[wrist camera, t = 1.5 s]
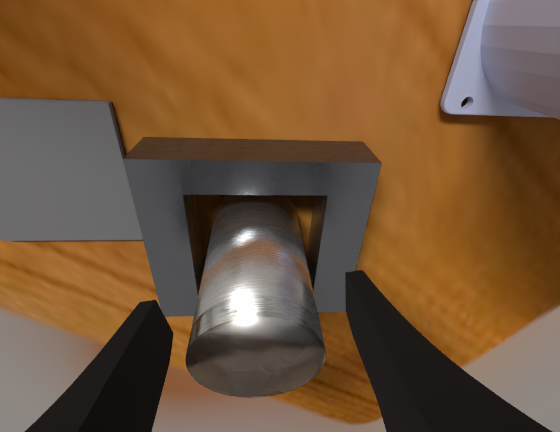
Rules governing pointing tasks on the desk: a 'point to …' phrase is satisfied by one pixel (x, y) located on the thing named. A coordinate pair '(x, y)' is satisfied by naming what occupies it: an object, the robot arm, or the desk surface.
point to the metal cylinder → (255, 303)
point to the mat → (63, 172)
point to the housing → (249, 181)
